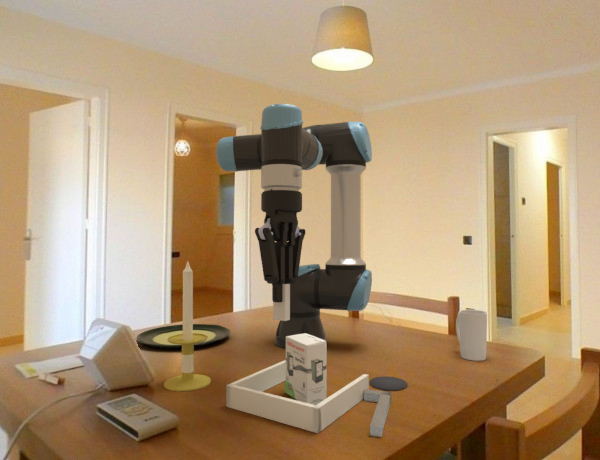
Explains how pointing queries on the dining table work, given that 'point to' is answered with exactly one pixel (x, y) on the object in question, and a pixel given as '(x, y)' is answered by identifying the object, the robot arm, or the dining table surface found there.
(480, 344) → the mug
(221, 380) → the dining table surface
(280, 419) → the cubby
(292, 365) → the ink box
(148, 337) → the plate
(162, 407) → the dining table surface
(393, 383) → the dark grey disc
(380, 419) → the crook tool
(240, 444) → the dining table surface
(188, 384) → the candle
